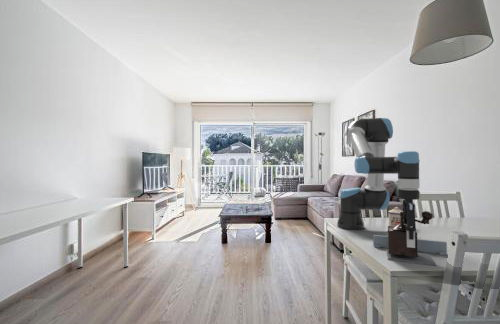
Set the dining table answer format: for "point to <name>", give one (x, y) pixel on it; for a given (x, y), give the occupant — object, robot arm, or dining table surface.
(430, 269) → the dining table surface
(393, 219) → the teacup with lid
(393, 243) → the coffee grinder
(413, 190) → the robot arm
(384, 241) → the low wall
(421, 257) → the slate mat
